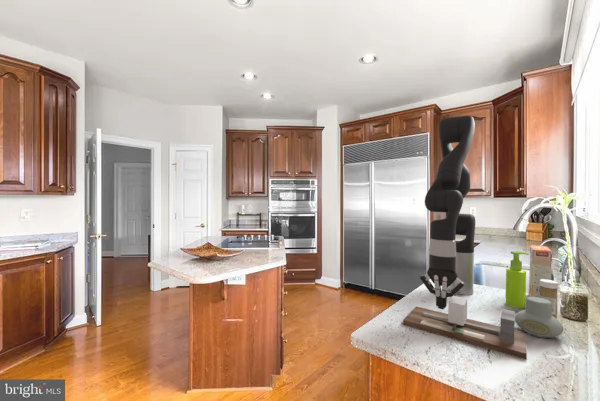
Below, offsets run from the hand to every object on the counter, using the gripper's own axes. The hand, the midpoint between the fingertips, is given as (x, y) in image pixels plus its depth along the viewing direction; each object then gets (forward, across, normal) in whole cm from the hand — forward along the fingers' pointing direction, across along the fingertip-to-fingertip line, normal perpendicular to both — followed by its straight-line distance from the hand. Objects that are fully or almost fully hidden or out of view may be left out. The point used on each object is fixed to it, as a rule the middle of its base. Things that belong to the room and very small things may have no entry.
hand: (441, 308), depth 88 cm
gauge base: (+5, -6, +1) cm, 8 cm away
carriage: (+3, -5, +2) cm, 6 cm away
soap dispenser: (+5, -19, -36) cm, 41 cm away
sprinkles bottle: (+5, -27, -24) cm, 36 cm away
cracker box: (+5, -26, -48) cm, 55 cm away
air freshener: (+5, -24, -12) cm, 27 cm away
